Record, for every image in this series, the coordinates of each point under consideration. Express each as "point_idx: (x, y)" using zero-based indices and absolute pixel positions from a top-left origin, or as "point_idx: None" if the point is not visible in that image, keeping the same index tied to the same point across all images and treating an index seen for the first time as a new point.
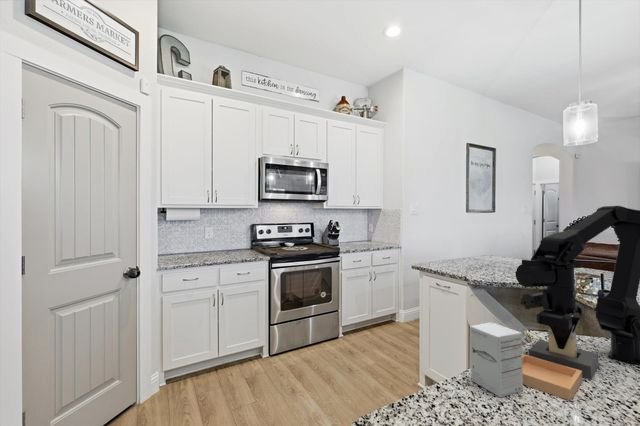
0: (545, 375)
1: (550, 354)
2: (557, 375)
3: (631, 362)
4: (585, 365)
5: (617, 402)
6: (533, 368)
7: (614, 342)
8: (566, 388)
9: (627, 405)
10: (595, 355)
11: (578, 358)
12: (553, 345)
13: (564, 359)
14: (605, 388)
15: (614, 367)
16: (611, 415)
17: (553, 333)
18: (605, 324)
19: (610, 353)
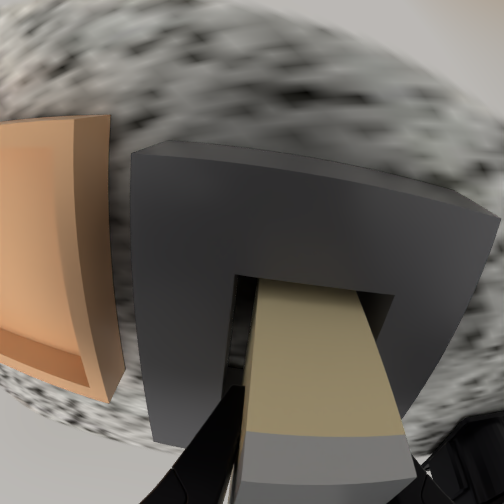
0: (18, 257)
1: (155, 311)
2: (58, 301)
3: (431, 456)
4: (151, 429)
5: (70, 411)
6: (39, 198)
7: (483, 472)
8: None
9: (76, 422)
10: None
11: None
12: (249, 365)
13: (143, 373)
14: (133, 412)
15: None
16: (2, 380)
17: (158, 488)
18: None
19: (485, 421)
